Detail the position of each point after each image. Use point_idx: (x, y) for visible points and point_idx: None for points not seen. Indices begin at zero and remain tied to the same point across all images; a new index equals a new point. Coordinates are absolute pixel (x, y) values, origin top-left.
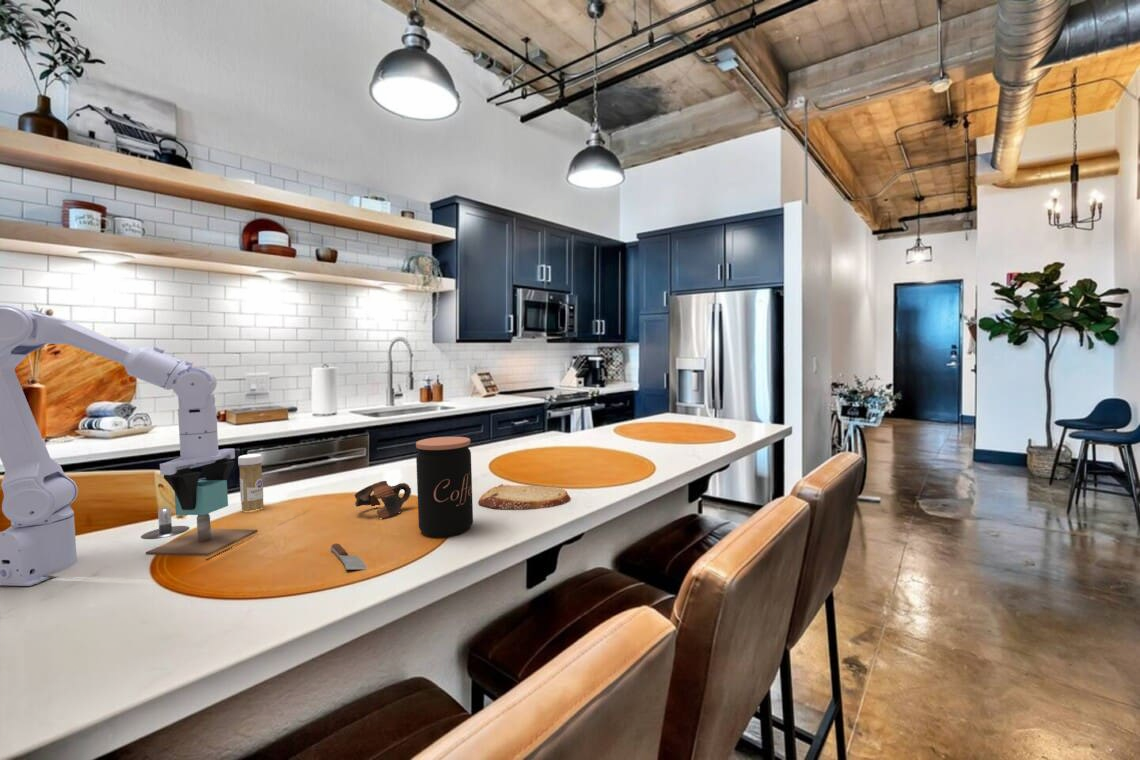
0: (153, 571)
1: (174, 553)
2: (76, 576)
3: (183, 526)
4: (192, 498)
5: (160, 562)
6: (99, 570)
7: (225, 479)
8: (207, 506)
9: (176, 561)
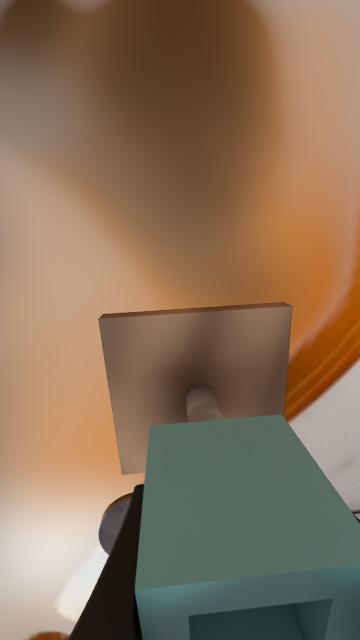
0: (342, 370)
1: (285, 393)
2: (352, 485)
3: (102, 533)
4: (355, 517)
5: (293, 401)
6: (327, 474)
7: (100, 618)
8: (277, 439)
9: (288, 372)
